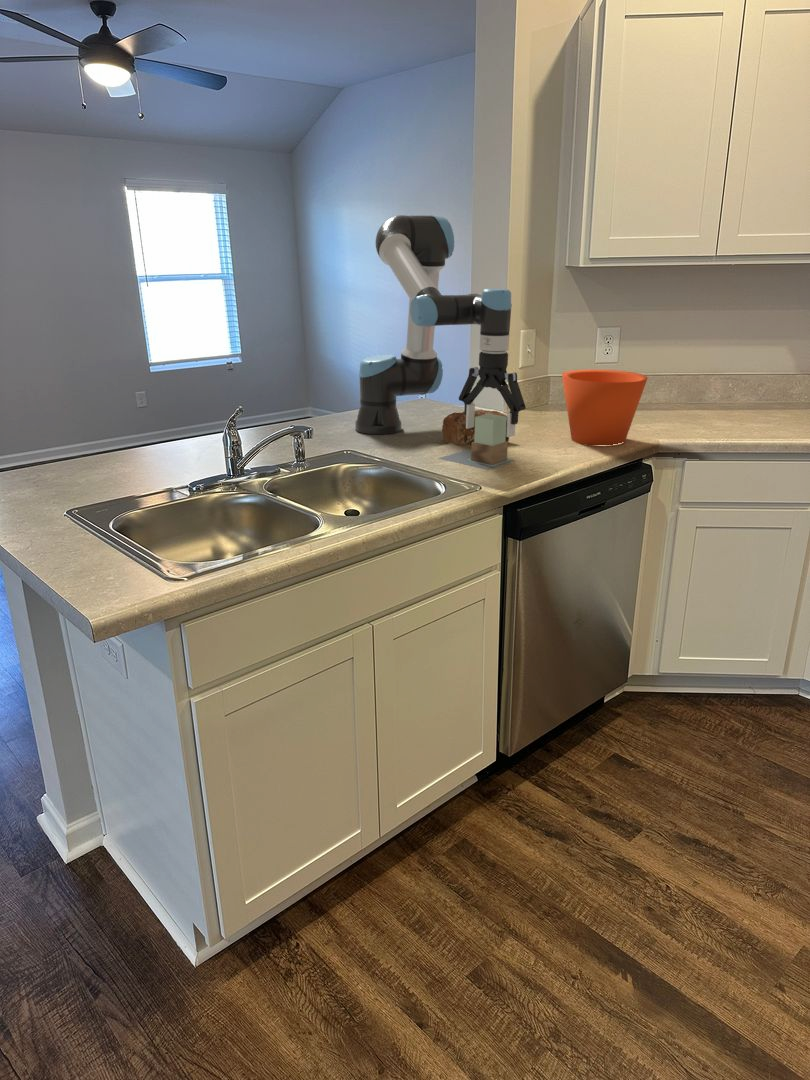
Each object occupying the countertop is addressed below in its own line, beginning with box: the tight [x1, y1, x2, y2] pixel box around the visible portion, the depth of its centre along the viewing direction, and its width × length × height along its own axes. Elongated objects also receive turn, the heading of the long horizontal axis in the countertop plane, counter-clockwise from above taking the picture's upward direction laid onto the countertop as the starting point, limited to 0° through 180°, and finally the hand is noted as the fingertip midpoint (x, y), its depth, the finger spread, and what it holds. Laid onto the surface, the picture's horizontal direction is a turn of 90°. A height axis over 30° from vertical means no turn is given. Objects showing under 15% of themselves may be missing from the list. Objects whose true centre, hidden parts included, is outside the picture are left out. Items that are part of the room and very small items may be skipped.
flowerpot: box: [561, 369, 648, 446], centre depth 227 cm, size 25×25×20 cm
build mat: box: [437, 449, 517, 471], centre depth 204 cm, size 17×13×1 cm
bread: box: [441, 409, 510, 446], centre depth 225 cm, size 19×11×10 cm, turn 114°
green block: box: [474, 414, 508, 446], centre depth 200 cm, size 6×6×7 cm
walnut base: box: [470, 441, 509, 465], centre depth 202 cm, size 7×7×5 cm
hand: (489, 431), depth 201 cm, fingers open, 13 cm apart
